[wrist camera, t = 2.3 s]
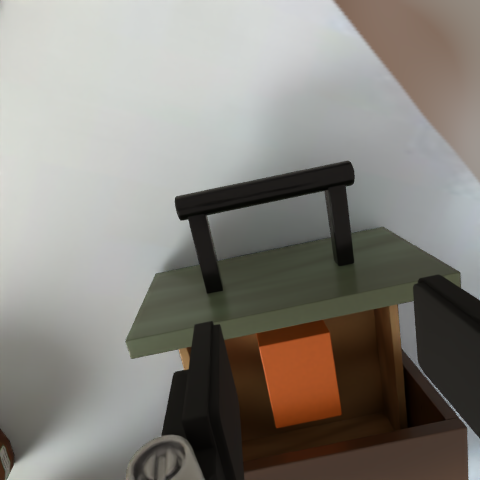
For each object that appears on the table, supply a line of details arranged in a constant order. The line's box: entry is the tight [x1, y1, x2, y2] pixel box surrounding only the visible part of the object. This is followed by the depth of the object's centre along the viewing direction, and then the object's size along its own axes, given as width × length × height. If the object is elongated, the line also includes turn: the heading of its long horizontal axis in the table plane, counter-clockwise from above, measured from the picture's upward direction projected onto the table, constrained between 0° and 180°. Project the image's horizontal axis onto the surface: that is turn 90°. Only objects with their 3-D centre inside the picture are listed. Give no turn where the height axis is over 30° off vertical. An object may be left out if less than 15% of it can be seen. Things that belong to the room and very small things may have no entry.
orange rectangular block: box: [256, 320, 342, 428], centre depth 25 cm, size 6×4×6 cm
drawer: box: [125, 161, 461, 461], centre depth 24 cm, size 22×17×9 cm
